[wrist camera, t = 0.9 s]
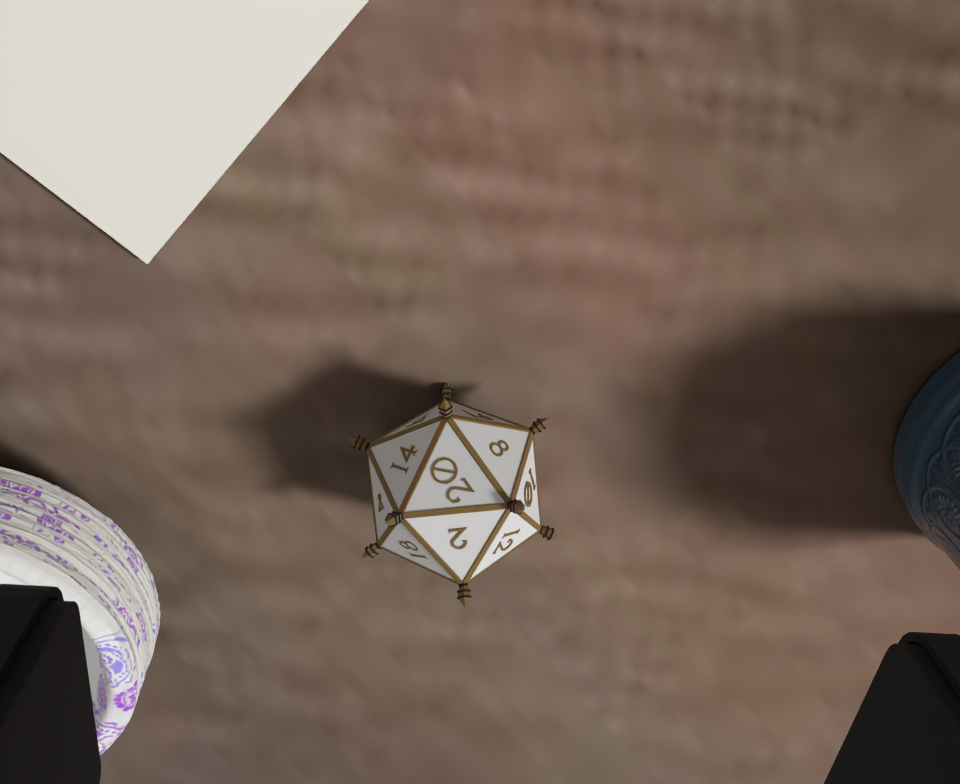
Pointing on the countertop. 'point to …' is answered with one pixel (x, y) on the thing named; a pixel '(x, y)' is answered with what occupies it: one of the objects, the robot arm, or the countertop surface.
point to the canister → (933, 459)
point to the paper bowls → (85, 586)
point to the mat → (149, 97)
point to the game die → (454, 490)
